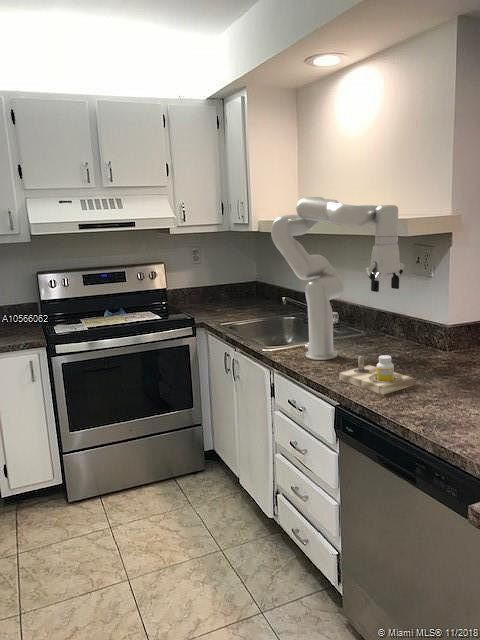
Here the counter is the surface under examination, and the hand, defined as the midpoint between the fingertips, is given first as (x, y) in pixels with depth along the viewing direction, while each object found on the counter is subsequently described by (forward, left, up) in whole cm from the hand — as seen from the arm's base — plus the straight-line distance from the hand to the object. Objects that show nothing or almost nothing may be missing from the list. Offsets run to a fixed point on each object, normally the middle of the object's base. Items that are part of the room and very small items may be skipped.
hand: (385, 289), depth 184 cm
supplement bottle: (+15, -15, -29) cm, 36 cm away
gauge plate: (+10, -15, -28) cm, 34 cm away
